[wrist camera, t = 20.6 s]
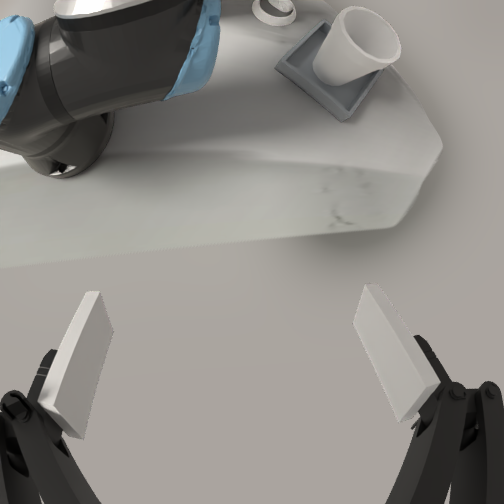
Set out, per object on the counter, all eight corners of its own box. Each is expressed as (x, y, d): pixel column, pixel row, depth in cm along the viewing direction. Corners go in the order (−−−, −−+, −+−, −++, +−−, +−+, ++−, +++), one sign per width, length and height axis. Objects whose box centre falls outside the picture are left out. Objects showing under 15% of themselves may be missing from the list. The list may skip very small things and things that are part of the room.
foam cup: (345, 47, 39) (385, 11, 27) (363, 93, 41) (411, 65, 28) (295, 47, 38) (328, 3, 25) (313, 96, 39) (354, 61, 27)
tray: (274, 68, 38) (280, 60, 35) (317, 26, 38) (323, 18, 35) (341, 122, 41) (350, 117, 38) (375, 75, 41) (384, 69, 38)
